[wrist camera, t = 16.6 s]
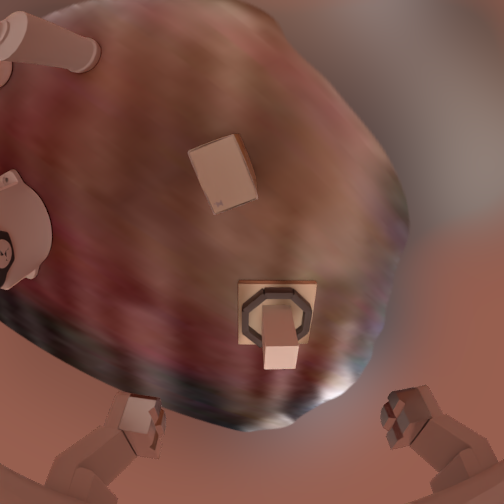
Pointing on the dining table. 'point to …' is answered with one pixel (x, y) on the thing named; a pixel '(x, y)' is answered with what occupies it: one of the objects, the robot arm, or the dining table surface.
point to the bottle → (45, 44)
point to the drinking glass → (5, 71)
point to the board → (274, 293)
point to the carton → (279, 337)
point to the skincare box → (225, 173)
